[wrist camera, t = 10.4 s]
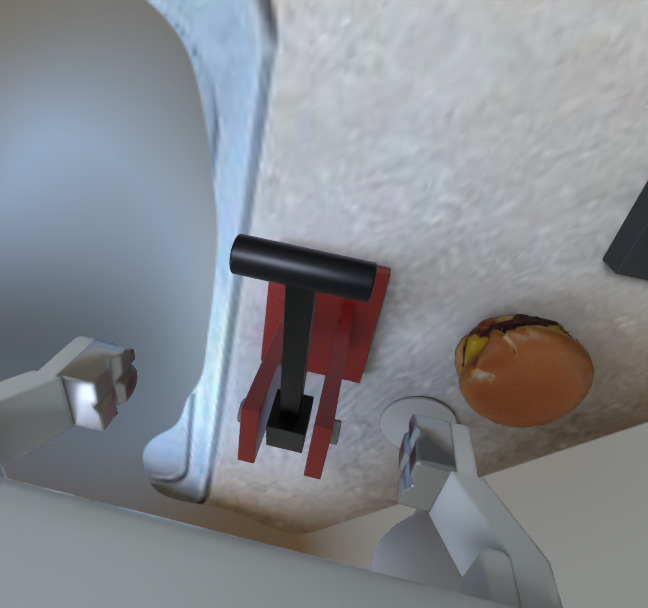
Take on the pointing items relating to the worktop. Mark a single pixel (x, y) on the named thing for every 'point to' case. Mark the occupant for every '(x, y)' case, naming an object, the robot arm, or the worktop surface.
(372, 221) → the worktop surface
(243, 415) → the bracket
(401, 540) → the wineglass
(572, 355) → the burger
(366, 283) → the lever
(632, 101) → the worktop surface
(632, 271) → the button box
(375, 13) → the worktop surface
